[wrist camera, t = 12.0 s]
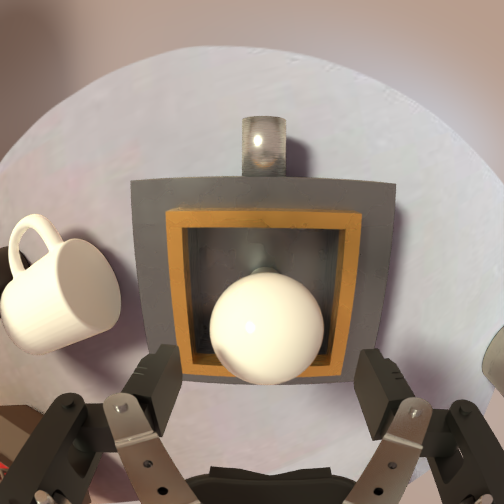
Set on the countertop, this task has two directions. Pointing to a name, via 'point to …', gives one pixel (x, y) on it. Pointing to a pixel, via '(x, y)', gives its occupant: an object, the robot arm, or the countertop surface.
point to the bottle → (7, 268)
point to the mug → (57, 292)
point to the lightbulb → (266, 328)
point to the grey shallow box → (262, 252)
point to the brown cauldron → (17, 435)
